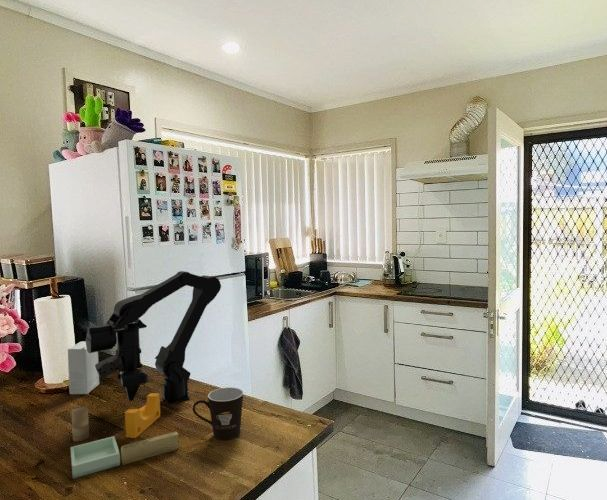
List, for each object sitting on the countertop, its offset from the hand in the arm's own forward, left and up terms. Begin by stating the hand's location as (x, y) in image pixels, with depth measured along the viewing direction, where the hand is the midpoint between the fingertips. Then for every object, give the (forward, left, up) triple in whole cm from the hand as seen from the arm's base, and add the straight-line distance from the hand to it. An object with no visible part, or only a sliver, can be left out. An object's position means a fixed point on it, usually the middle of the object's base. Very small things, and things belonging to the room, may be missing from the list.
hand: (131, 400), depth 117 cm
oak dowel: (+13, +9, -3) cm, 16 cm away
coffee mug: (-17, +26, -3) cm, 31 cm away
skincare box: (+10, -26, -3) cm, 28 cm away
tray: (+11, +23, -3) cm, 26 cm away
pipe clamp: (-1, +11, -4) cm, 11 cm away
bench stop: (0, +27, -3) cm, 27 cm away
